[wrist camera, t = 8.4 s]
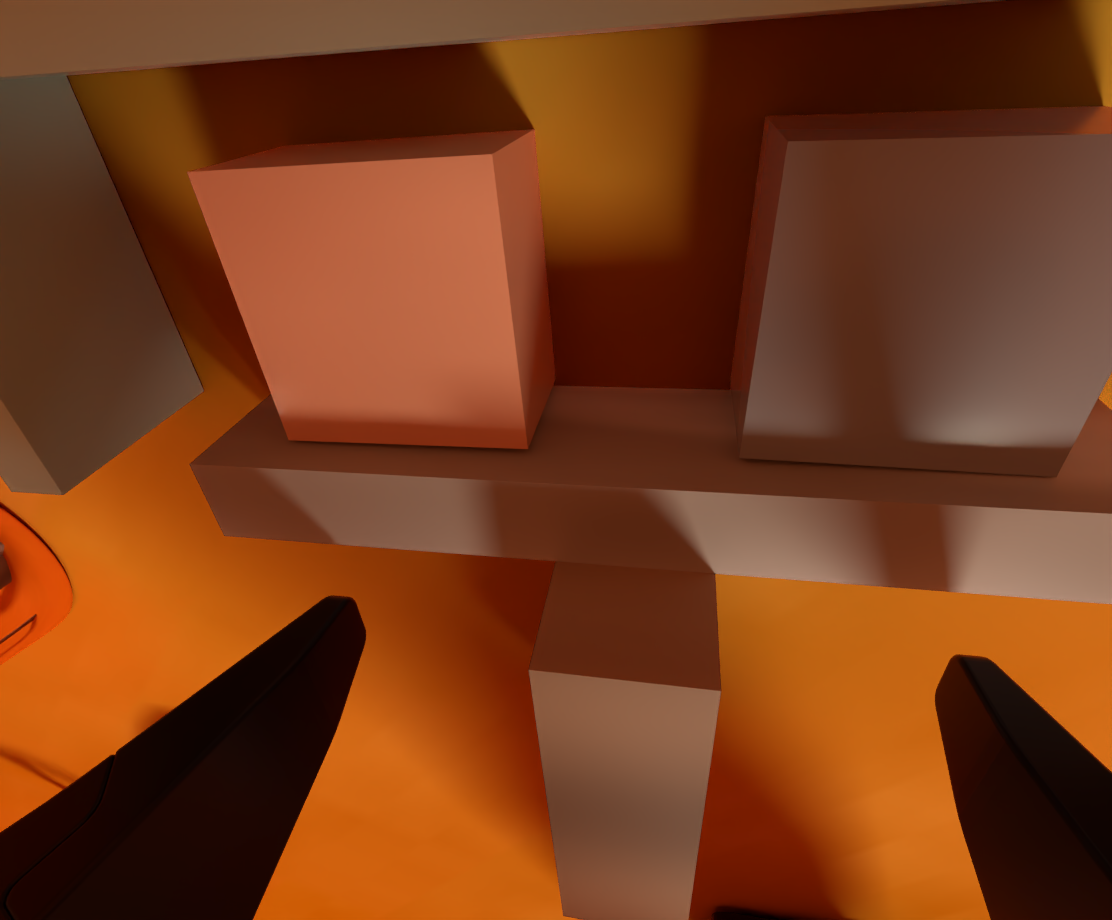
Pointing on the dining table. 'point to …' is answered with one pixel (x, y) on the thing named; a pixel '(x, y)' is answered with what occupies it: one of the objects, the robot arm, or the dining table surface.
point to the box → (101, 221)
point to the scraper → (660, 577)
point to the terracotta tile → (392, 285)
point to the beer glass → (28, 588)
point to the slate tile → (927, 289)
